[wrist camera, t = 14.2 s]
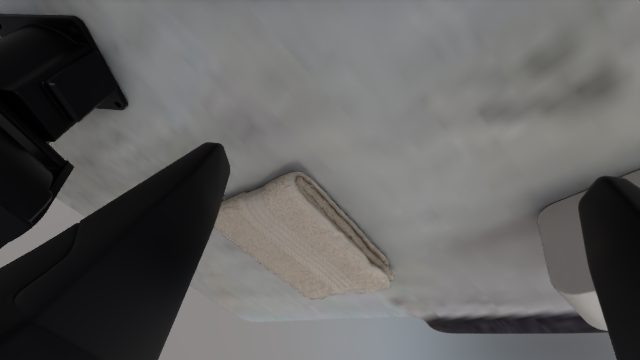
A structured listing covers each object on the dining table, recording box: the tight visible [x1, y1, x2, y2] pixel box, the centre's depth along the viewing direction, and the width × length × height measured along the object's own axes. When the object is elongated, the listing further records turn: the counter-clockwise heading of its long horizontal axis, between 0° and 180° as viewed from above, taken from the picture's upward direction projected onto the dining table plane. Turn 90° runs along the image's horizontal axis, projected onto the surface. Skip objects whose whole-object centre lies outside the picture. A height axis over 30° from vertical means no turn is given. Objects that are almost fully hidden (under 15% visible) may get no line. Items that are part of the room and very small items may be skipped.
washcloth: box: [214, 171, 394, 299], centre depth 32 cm, size 12×18×3 cm, turn 37°
